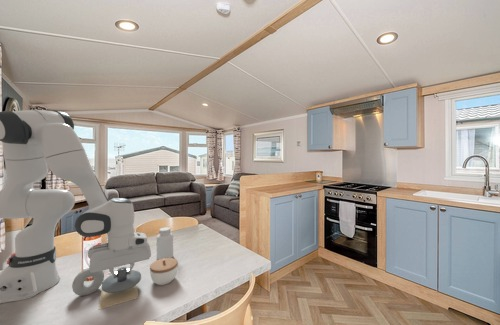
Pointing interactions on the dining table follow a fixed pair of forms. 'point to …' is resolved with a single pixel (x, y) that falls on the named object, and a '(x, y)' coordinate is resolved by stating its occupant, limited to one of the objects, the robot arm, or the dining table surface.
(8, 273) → the robot arm
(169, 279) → the lidded jar
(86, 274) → the donut
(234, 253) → the dining table surface
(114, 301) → the mat
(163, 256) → the pill bottle
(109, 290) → the lid
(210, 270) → the dining table surface
